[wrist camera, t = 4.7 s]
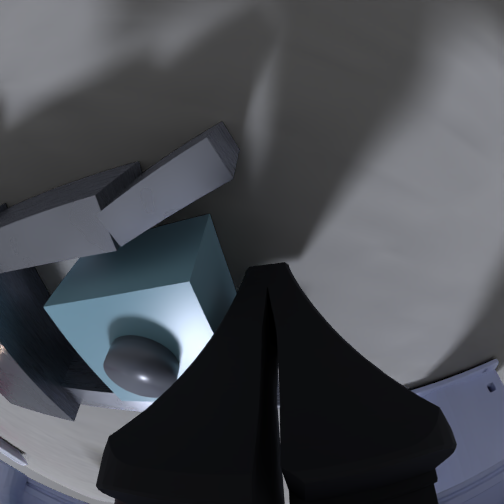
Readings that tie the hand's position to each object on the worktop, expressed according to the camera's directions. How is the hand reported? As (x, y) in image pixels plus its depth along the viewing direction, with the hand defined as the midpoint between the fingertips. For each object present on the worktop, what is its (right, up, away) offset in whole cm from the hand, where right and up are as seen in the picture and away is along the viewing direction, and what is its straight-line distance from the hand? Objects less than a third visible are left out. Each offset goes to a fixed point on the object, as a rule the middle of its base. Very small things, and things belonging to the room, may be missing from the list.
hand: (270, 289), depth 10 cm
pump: (-4, 0, +1) cm, 4 cm away
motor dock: (-8, -1, +2) cm, 8 cm away
